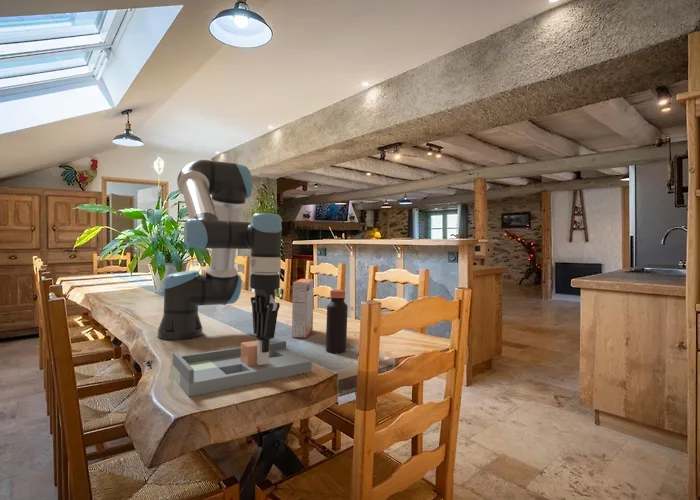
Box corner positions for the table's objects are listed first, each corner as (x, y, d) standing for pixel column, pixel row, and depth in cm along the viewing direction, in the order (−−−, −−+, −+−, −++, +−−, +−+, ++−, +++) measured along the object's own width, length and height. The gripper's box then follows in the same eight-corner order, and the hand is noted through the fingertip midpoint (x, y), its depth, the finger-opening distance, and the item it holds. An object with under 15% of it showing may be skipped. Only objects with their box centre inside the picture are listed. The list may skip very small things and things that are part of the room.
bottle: (338, 354, 123) (340, 292, 123) (321, 351, 127) (323, 290, 127) (350, 350, 129) (352, 290, 129) (333, 346, 133) (335, 288, 132)
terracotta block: (240, 361, 104) (240, 342, 104) (257, 358, 107) (258, 340, 107) (247, 366, 100) (248, 346, 100) (265, 363, 103) (265, 344, 103)
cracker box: (298, 329, 157) (300, 278, 157) (313, 330, 157) (314, 278, 157) (290, 337, 143) (292, 281, 143) (306, 338, 143) (308, 282, 143)
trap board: (172, 375, 100) (173, 352, 100) (284, 357, 119) (284, 337, 119) (188, 396, 87) (189, 370, 87) (310, 372, 106) (311, 350, 106)
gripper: (242, 271, 103) (239, 359, 104) (262, 275, 93) (259, 373, 93) (268, 271, 108) (265, 355, 108) (290, 275, 97) (287, 368, 98)
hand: (262, 363), depth 101 cm, fingers closed
